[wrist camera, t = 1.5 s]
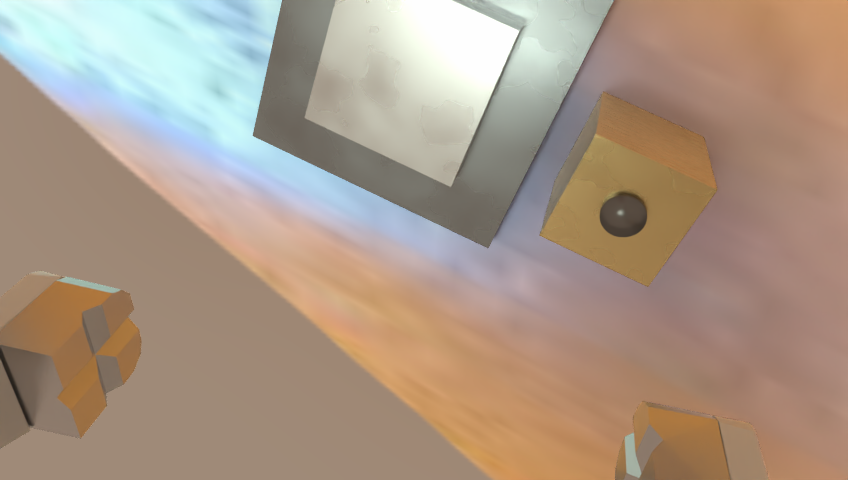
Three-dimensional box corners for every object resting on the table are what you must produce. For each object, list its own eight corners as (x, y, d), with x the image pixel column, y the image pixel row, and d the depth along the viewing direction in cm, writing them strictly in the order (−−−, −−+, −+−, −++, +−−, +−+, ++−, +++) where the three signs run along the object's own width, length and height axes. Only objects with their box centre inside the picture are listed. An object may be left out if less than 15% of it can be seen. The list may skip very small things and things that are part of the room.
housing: (703, 136, 29) (718, 193, 24) (646, 223, 32) (648, 290, 27) (603, 91, 29) (595, 136, 24) (555, 180, 32) (538, 238, 27)
